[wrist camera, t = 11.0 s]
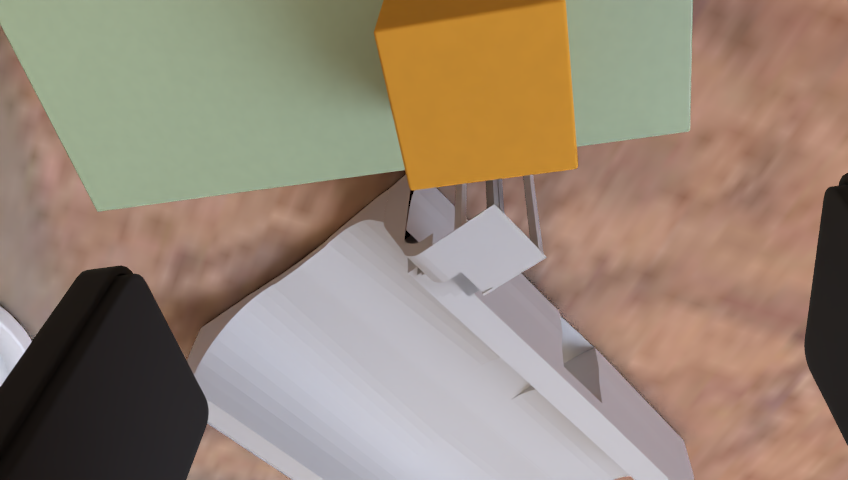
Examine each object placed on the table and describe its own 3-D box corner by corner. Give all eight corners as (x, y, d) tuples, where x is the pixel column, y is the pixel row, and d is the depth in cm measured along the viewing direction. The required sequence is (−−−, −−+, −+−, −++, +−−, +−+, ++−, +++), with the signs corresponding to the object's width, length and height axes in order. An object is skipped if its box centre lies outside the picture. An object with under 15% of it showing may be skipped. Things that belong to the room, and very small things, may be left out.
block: (561, 96, 22) (578, 170, 19) (419, 117, 23) (409, 192, 20) (549, -53, 20) (565, -2, 16) (389, -25, 21) (372, 30, 17)
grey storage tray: (200, 325, 42) (150, 439, 36) (489, 106, 34) (494, 203, 27) (477, 531, 53) (478, 649, 46) (755, 404, 44) (806, 528, 37)
